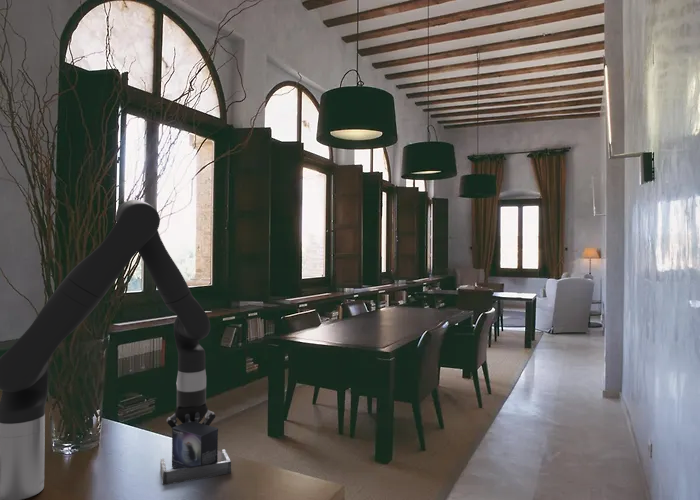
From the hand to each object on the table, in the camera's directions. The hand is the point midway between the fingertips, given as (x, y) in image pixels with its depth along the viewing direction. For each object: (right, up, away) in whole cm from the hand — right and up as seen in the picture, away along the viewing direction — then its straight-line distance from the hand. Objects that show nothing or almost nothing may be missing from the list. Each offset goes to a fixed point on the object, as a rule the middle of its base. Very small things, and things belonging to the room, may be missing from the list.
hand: (191, 449), depth 135 cm
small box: (+3, -2, -6) cm, 7 cm away
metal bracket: (+4, -2, -8) cm, 10 cm away
